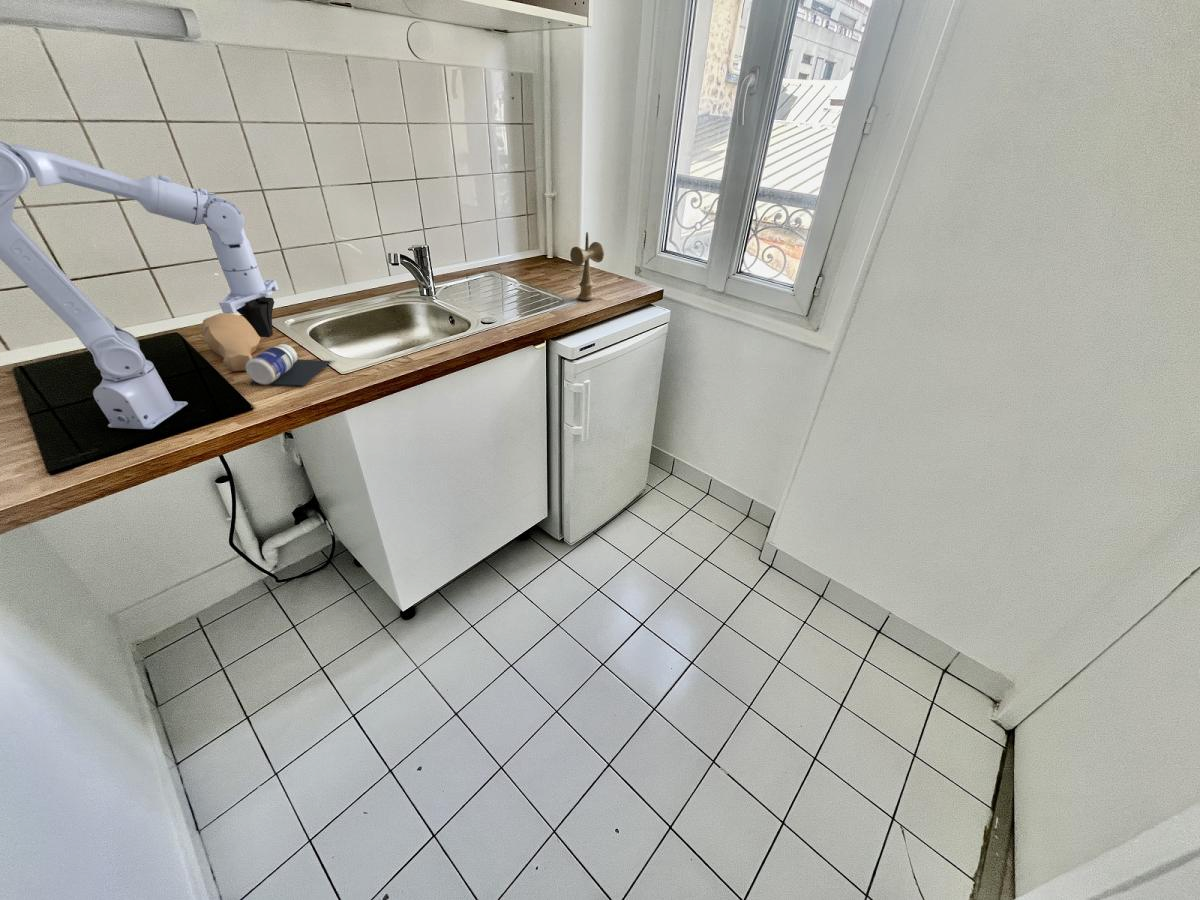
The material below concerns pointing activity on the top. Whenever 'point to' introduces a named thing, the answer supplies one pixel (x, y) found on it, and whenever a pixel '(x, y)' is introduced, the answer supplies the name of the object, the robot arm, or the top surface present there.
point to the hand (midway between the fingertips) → (266, 335)
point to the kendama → (586, 265)
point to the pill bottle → (271, 363)
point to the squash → (231, 339)
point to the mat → (298, 373)
